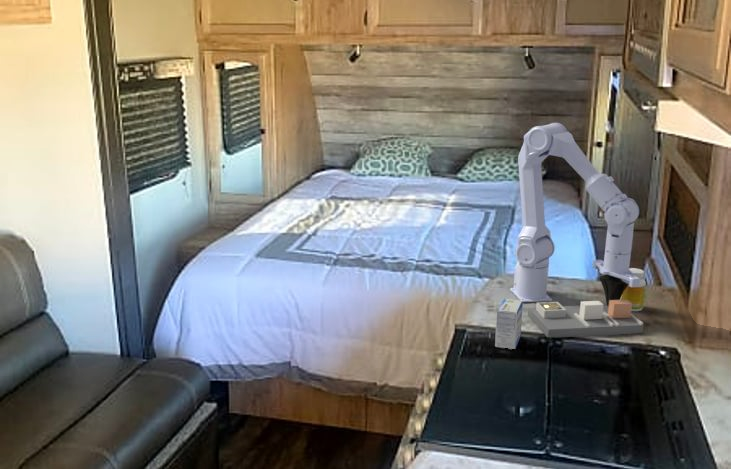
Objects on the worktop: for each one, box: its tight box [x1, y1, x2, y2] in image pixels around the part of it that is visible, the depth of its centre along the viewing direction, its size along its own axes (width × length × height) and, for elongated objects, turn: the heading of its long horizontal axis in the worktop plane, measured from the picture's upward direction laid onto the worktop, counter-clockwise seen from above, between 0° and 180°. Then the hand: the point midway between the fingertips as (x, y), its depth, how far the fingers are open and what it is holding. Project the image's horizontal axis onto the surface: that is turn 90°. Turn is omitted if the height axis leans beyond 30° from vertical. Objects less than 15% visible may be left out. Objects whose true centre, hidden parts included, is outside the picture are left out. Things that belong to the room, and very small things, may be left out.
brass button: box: [543, 301, 559, 310], centre depth 173 cm, size 4×4×2 cm
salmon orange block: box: [608, 300, 633, 318], centre depth 172 cm, size 2×4×4 cm, turn 98°
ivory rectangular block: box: [579, 300, 604, 320], centre depth 171 cm, size 2×4×4 cm, turn 98°
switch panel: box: [527, 301, 644, 339], centre depth 172 cm, size 13×22×4 cm, turn 98°
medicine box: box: [494, 298, 524, 350], centre depth 161 cm, size 8×4×9 cm, turn 160°
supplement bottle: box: [620, 267, 647, 312], centre depth 182 cm, size 5×5×10 cm
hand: (611, 305), depth 175 cm, fingers closed
